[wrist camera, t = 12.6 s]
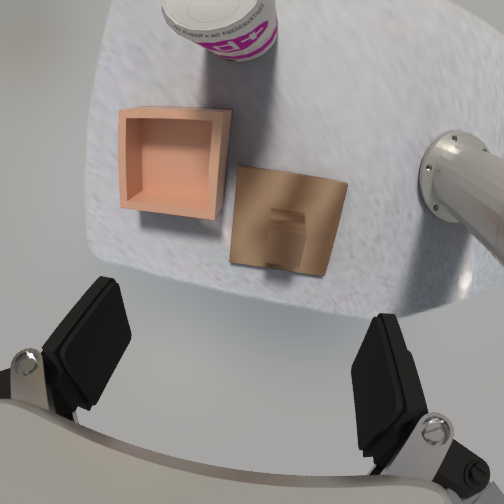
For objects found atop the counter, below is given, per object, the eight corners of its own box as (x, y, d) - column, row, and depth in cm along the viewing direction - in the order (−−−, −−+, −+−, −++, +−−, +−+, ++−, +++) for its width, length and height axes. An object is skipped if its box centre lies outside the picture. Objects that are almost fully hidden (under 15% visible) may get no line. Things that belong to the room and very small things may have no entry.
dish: (232, 110, 31) (223, 112, 27) (223, 204, 37) (214, 220, 33) (138, 106, 32) (118, 109, 27) (138, 194, 38) (120, 207, 33)
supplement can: (283, 57, 28) (281, 26, 15) (212, 68, 29) (160, 51, 16) (272, -3, 24) (261, -63, 11) (201, 10, 25) (148, -35, 12)
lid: (346, 182, 34) (359, 202, 28) (324, 273, 40) (328, 304, 34) (239, 165, 34) (228, 180, 28) (230, 258, 41) (220, 288, 35)
